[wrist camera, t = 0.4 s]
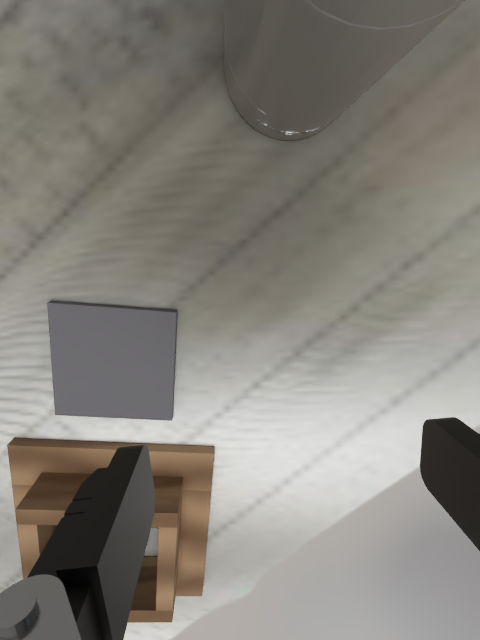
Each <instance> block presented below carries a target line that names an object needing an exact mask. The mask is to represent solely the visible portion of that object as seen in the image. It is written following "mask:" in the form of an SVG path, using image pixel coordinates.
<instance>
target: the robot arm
mask: <svg viewBox="0 0 480 640" xmlns="http://www.w3.org/2000/svg"><path fill="white" fill-rule="evenodd" d="M463 1H465V0H225V27H224V72H225V81H226V85H227V88H228V91H229V95H230V97H231V99H232V101H233V103H234V105H235V107H236V109H237V111H238V112H239V113H240V115H241V116H242V117H243V118H244V120H245V121H246V122H247V123H248V124H249V125H251V126H252V127H253V128H254V129H255V130H257V131H258V132H260V133H262V134H264V135H266V136H268V137H271V138H275V139H279V140H298V139H303V138H307V137H310V136H312V135H314V134H316V133H318V132H320V131H321V130H323V129H324V128H325V127H326V126H328V125H329V124H330V123H331V122H333V121H334V120H335V119H336V118H337V117H338V116H339V115H340V114H341V113H342V112H343V111H345V110H346V109H347V108H348V107H349V106H350V105H351V104H353V103H354V102H355V101H356V100H357V99H358V98H359V97H360V96H361V95H362V94H363V93H365V92H366V91H367V90H368V89H369V88H370V87H371V86H372V85H373V84H374V83H375V82H376V81H378V80H379V79H380V78H381V77H382V76H383V75H384V74H385V73H386V72H387V71H388V70H390V69H391V68H392V67H393V66H394V65H395V64H396V63H397V62H398V61H399V60H400V59H402V58H403V57H404V56H405V55H406V54H407V53H408V52H409V51H410V50H411V49H412V48H413V47H415V46H416V45H417V44H418V43H419V42H420V41H421V40H422V39H423V38H424V37H425V36H427V35H428V34H429V33H430V32H431V31H432V30H433V29H434V28H435V27H436V26H437V25H438V24H440V23H441V22H442V21H443V20H444V19H445V18H446V17H447V16H448V15H449V14H450V13H452V12H453V11H454V10H455V9H456V8H457V7H458V6H459V5H460V4H461V3H462V2H463ZM420 470H421V475H422V478H423V481H424V483H425V485H426V487H427V489H428V490H429V491H430V492H431V493H432V495H433V496H434V497H435V498H436V500H437V501H438V502H439V503H440V504H441V505H442V507H443V508H444V509H445V510H446V512H448V514H449V515H450V516H451V517H452V519H453V520H454V521H455V522H456V523H457V525H458V526H459V527H460V528H461V529H462V530H463V532H464V533H465V534H466V535H467V536H468V538H469V539H470V540H471V541H472V542H473V544H474V545H475V546H476V547H477V548H478V550H479V551H480V434H478V433H477V432H475V431H474V430H472V429H471V428H470V427H468V426H467V425H466V424H464V423H463V422H462V421H460V420H459V419H457V418H454V417H452V418H441V419H430V420H426V421H425V423H424V425H423V434H422V448H421V462H420ZM154 510H155V490H154V483H153V476H152V470H151V463H150V456H149V450H148V447H147V445H138V446H127V447H119V448H118V449H117V450H116V452H115V454H114V456H113V458H112V460H111V462H110V464H109V466H108V467H107V468H98V469H97V470H96V471H94V472H93V473H92V474H91V475H90V476H89V477H88V478H87V479H86V480H85V481H84V482H82V484H81V486H80V487H79V489H78V491H77V492H76V494H75V496H74V498H73V499H72V503H70V504H69V506H68V508H67V510H66V511H65V513H64V517H62V518H61V520H60V522H59V523H58V525H57V527H56V529H55V530H54V532H53V534H52V535H51V537H50V539H49V541H48V542H47V544H46V546H45V547H44V549H43V551H42V553H41V554H40V556H39V558H38V559H37V561H36V563H35V565H34V566H33V568H32V570H31V572H30V573H29V575H28V577H27V578H26V579H23V580H21V581H19V582H17V583H15V584H13V585H12V586H10V587H9V588H7V589H6V590H4V591H3V592H2V593H0V640H123V638H124V634H125V630H126V626H127V622H128V618H129V614H130V610H131V606H132V602H133V597H134V593H135V589H136V585H137V581H138V577H139V573H140V569H141V565H142V561H143V557H144V553H145V549H146V545H147V541H148V537H149V533H150V529H151V525H152V521H153V516H154Z"/></svg>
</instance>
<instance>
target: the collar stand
mask: <svg viewBox="0 0 480 640" xmlns="http://www.w3.org/2000/svg"><path fill="white" fill-rule="evenodd" d="M138 445H147V447H148V450H149V456H150V463H151V470H152V476H153V483H154V490H155V510H154V516H153V521H152V525H151V527H159V530H158V556H144V557H143V561H142V565H141V569H140V573H139V577H138V581H137V585H136V589H135V593H134V597H133V602H132V606H131V610H130V614H129V618H128V622H172V619H173V610H174V602H175V596H202V591H203V579H204V567H205V556H206V544H207V532H208V521H209V509H210V497H211V485H212V474H213V462H214V447H212V446H189V445H165V444H142V443H118V442H95V441H71V440H47V439H24V438H14V439H13V440H12V441H11V442H10V443H9V444H8V445H7V446H8V455H9V463H10V472H11V480H12V488H13V497H14V505H15V513H16V522H17V530H18V538H19V547H20V555H21V563H22V572H23V579H26V578H27V577H28V575H29V573H30V572H31V570H32V568H33V566H34V565H35V563H36V561H37V559H38V558H39V556H40V554H41V553H42V551H43V549H44V547H45V546H46V544H47V542H48V541H49V539H50V537H51V535H52V534H53V532H54V530H55V529H56V527H57V525H58V523H59V522H60V520H61V518H62V517H64V513H65V511H66V510H67V508H68V506H69V504H70V503H72V499H73V498H74V496H75V494H76V492H77V491H78V489H79V487H80V486H81V484H82V482H84V481H85V480H86V479H87V478H88V477H89V476H90V475H91V474H92V473H93V472H94V471H96V470H97V469H98V468H107V467H108V466H109V464H110V462H111V460H112V458H113V456H114V454H115V452H116V450H117V449H118V448H119V447H127V446H138Z"/></svg>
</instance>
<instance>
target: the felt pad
mask: <svg viewBox="0 0 480 640" xmlns="http://www.w3.org/2000/svg"><path fill="white" fill-rule="evenodd" d="M47 304H48V319H49V333H50V347H51V361H52V375H53V390H54V404H55V415H69V416H90V417H111V418H131V419H152V420H172V418H173V400H174V377H175V354H176V330H177V311H176V310H163V309H150V308H136V307H123V306H110V305H97V304H84V303H70V302H57V301H50V302H48V303H47Z"/></svg>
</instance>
